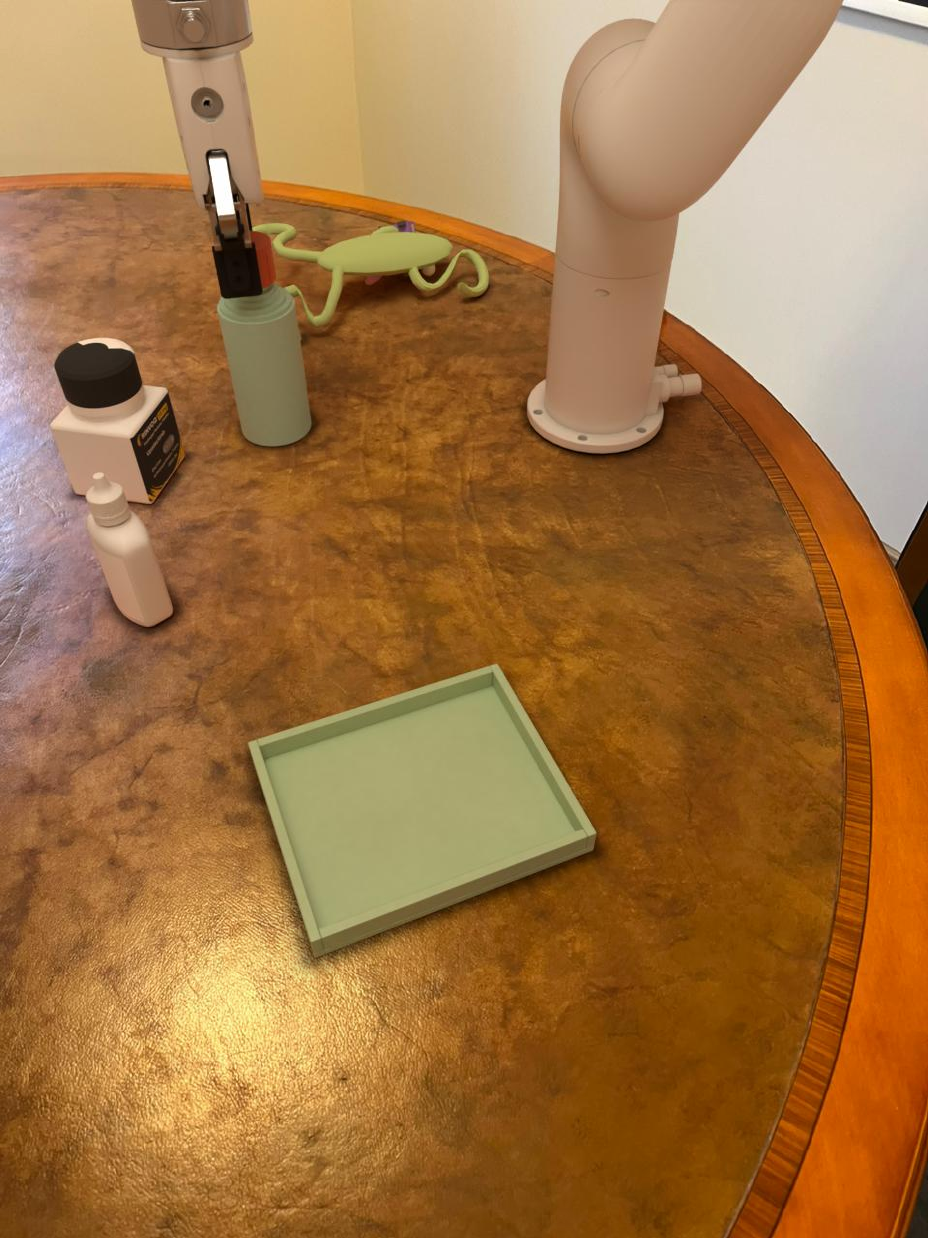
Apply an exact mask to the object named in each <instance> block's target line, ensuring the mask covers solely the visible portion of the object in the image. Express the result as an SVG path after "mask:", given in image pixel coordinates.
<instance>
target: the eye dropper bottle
mask: <svg viewBox="0 0 928 1238" xmlns="http://www.w3.org/2000/svg"><path fill="white" fill-rule="evenodd" d="M93 483H94V486H93V487H91V488H90V489H89V490H88V491H87V493H86V495H85V500H86V503H87V505H88V508H89V510H90V512H89V514H88V515H87V516H86V529H87V533H88V536H89V538H90V542H91V544H92V547H93V550H94V552H95V554H96V557H97V559H98V562H99V564H100V567H101V570H102V572H103V575H104V578H105V581H106V583H107V586H108V588H109V592H110V593H111V596H112V599H113V601H114V604H115V605H116V607H117V609H118V610H119V612H121V614H122V615H123V616H124V617H125V618H127V619H128V620H130V621H131V622H133V623H135V624H136V625H140V626H142V627H145V628H151V627H154V626H156V625H158V624H160V623H161V622H163V621H165V620H166V619H169V618H170V617H171V616H172V615H173V613H174V608H173V604H172V599H171V597H170V594H169V591H168V587H167V585H166V582H165V579H164V575H163V572H162V569H161V566H160V563H159V559H158V556H157V554H156V551H155V548H154V545H153V542H152V538H151V536H150V533H149V531H148V528H147V527H146V525H145V523H144V522H143V520H142V519H141V518H140V517H139V516H138V515H137V514H136V513H135V512H134V511H132V510H131V509H130V506H129V503H128V502H129V501H127V499H126V496H125V493H124V490H123V488H122V486H121V485H119V484H117V483H114V482H108V480H107V479H106V477H105V476H104V474H103V473H96V474H94V475H93Z"/></svg>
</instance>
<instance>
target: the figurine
mask: <svg viewBox="0 0 928 1238" xmlns="http://www.w3.org/2000/svg"><path fill="white" fill-rule="evenodd" d="M415 227H416V226H415V221H413V220H412V221H411V220H410V221H408V220H407V221H406V220H399V221H397V222H396V224H392V225H379V226H378V227H377V229H375V230H374V231H373V232H371V234H366V235H365V234H364V235H360V236H356V237H353V238H349V239H346V240H341V241H339V242H337V243H334V244H332V245H330V246H328V247H326V248H325V249H324V250H322V251H313V250H306V249H298V248H291V247H287V246H285V245H286V244H287V243H289V242H291V241H293V240H295V239H296V238H297V236H298V232H297V229H296V228H295V227H294V226H293V225H290V224H288V223H281V222H271V223H269V222H268V223H262V224H258V225H255V226H252V229H253V231H258V232H262V233H264V234H266V235H268V236H269V235H277V236H276V237H274V239H273V240H272V242H271V246H272V249H273V251H274V252H275V254H276V255H277V256H278V257H279V258H282V259H286V260H289V261H296V262H302V263H303V262H304V263H312V264H317V265H318V266H319V267H321V269H323V270H324V271H327V272H330V273H331V286H330V289H329V292H328V294H327V298H326V302H325V305H324V308H323V310H322V312H321V314H319V315H314V314H313V313H312V312H311V311H310V309H309V307H308V305H307V303H306V300H305V297H304V295H303V293H302V291H301V290H300V289H299V288H298V287H297V285H295V284H291V285H288V286H285V287H283V288H284V289H286V290H287V291H288V292H289V293H290V294H291V296H292V297H293V298H294V297H299V298H300V300H301V302H302V305H303V309H304V313H305V316H306V319H307V321H308V323H309V324H311V325H312V326H313V327H314V328H316V329H319V328H321V327H325V326H327V325H328V324H329V323H330V322H331V320H332V319H333V317H334V314H335V312H336V309H337V306H338V303H339V300H340V297H341V294H342V292H343V285H344V276H356V277H366V278H365V279H364V283H365V284H366V285H369V286H371V285H373V284H375V283H376V282H378V281H379V280H380V279H381V278H382V277H383V276H392V275H393V276H394V275H399V274H404V276H405V278H408V277H409V279H410V281H411V282H412V284H413V285H414V286H415V287H416V289H418V290H419V291H421V292H424V293H427V294H428V293H431V292H435V291H437V290H439V288H441V287H442V286H443V285H444V284H445V283H446V282H447V280H448V279H449V278H450V276H451V274H452V273H453V271H454V269H455V266H456V264H457V262H458V259H459V258H465V259H466V260H467V261H470V263H471V264H472V265H473V266H474V267H475V269H476V271H477V276H478V283H477V285H476V286H474V287H471V286H468V285H467V284H466V283H464V282H461V281H460V282H458V283H457V286H456V287H457V290H458V291H459V292H460V293H461V294H463V295H464V296H465V297H468V298H477V297H480V296H482V295H483V294H484V293H485V292H486V291H487V290H488V288H489V283H490V277H489V276H490V275H489V269H488V267H487V264H486V262H485V260H484V258H482V257H481V256H480V254H479V253H477V252H476V251H474V250H473V249H462V250H461V251H459V252H458V253H457V254H455V256H453V258H452V259H451V261H450V262H449V264H448V266H447V267H446V269H445V272H444V273H442V275H441V277H439V279H437V281H436V282H434V283H431V282H427V281H426V280H425V279H424V278H423V277H422V275H421V274H420V272H419V270H421V272H422V273H423V275H425V276H426V277H429V278H430V277H431V276H433V275H434V274H435V272H436V264H437V263H439V262H441V261H443V260H445V259H446V258H447V257H448V256H449V255H450V254H451V252H452V251H453V250H454V246H453V244H452V243H451V242H450V240H448V239H447V238H445V237H442V236H439V235H436V234H431V233H423V232H422V233H421V232H416V228H415ZM298 328H299V335H300V341H302V333H301V330H300V327H299V326H298Z"/></svg>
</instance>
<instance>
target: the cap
mask: <svg viewBox="0 0 928 1238" xmlns="http://www.w3.org/2000/svg"><path fill="white" fill-rule="evenodd" d="M250 237H251V242H255V247H256V253H257V259H258V265H259V271H260V278H261V284H262V289H263V288H266V287H268V286H270V285H271V284H273V283H275V281H276V279H277V274H276V265H275V261H274V260H275V259H274V254H273V246H272V240H271V237H270V236H269V235H266V234H264V233H262V232H258V231H250ZM243 238H244V237H243Z"/></svg>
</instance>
